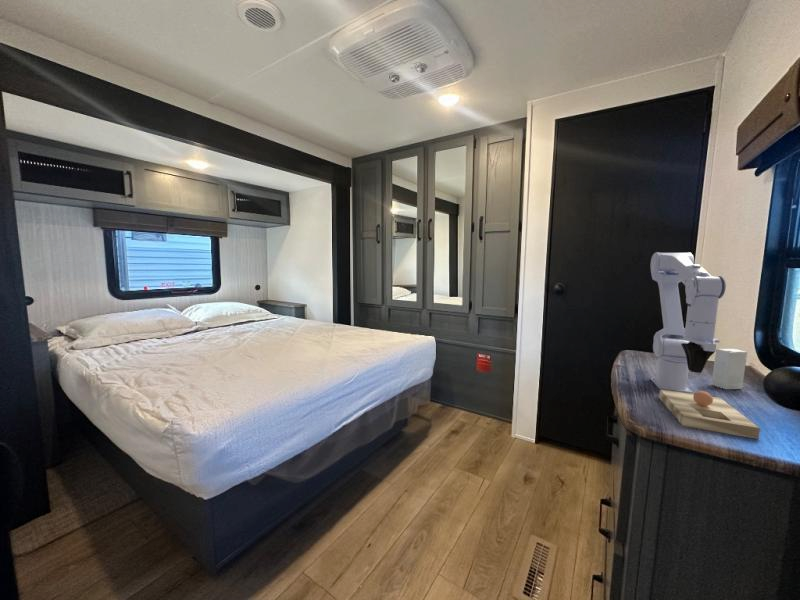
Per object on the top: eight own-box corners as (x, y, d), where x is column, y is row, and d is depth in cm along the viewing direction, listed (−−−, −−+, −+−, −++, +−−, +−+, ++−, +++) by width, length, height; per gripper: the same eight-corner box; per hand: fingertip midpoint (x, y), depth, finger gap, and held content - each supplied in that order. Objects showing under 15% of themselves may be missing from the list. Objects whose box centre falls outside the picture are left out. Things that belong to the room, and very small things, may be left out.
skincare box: (727, 384, 102) (731, 347, 101) (743, 389, 98) (748, 351, 97) (710, 384, 102) (714, 348, 100) (725, 390, 97) (730, 351, 96)
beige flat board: (658, 397, 91) (659, 389, 91) (719, 406, 86) (720, 397, 85) (682, 425, 75) (683, 415, 75) (758, 439, 69) (760, 428, 69)
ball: (690, 401, 83) (691, 387, 82) (708, 403, 81) (710, 390, 81) (695, 406, 80) (697, 392, 79) (714, 409, 78) (716, 395, 78)
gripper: (735, 327, 76) (728, 382, 77) (708, 318, 89) (702, 366, 90) (697, 325, 79) (690, 377, 80) (676, 316, 92) (671, 362, 93)
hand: (694, 371), depth 86 cm, fingers closed
